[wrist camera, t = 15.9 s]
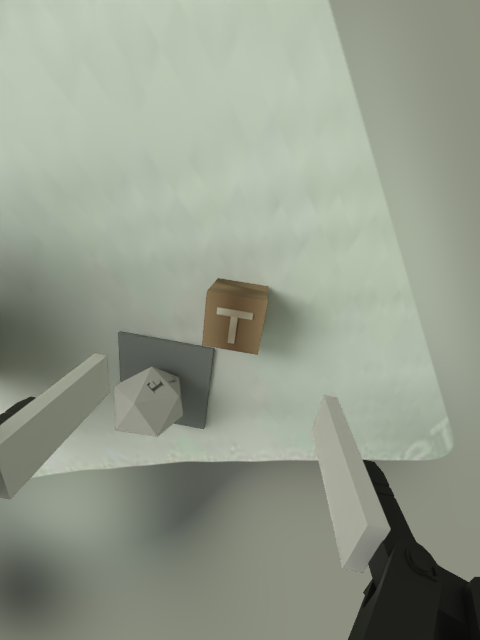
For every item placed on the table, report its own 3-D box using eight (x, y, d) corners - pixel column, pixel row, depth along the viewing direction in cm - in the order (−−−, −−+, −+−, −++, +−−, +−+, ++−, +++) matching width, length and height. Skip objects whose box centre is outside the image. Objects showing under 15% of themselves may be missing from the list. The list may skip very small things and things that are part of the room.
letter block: (213, 323, 32) (201, 345, 26) (218, 278, 29) (206, 291, 24) (259, 331, 31) (257, 355, 26) (267, 286, 29) (268, 301, 23)
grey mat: (123, 411, 39) (122, 413, 38) (120, 331, 33) (118, 333, 33) (204, 426, 38) (203, 429, 38) (214, 348, 33) (213, 350, 32)
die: (202, 397, 36) (187, 401, 27) (158, 443, 35) (126, 464, 25) (165, 359, 38) (140, 349, 29) (122, 401, 36) (80, 406, 27)
